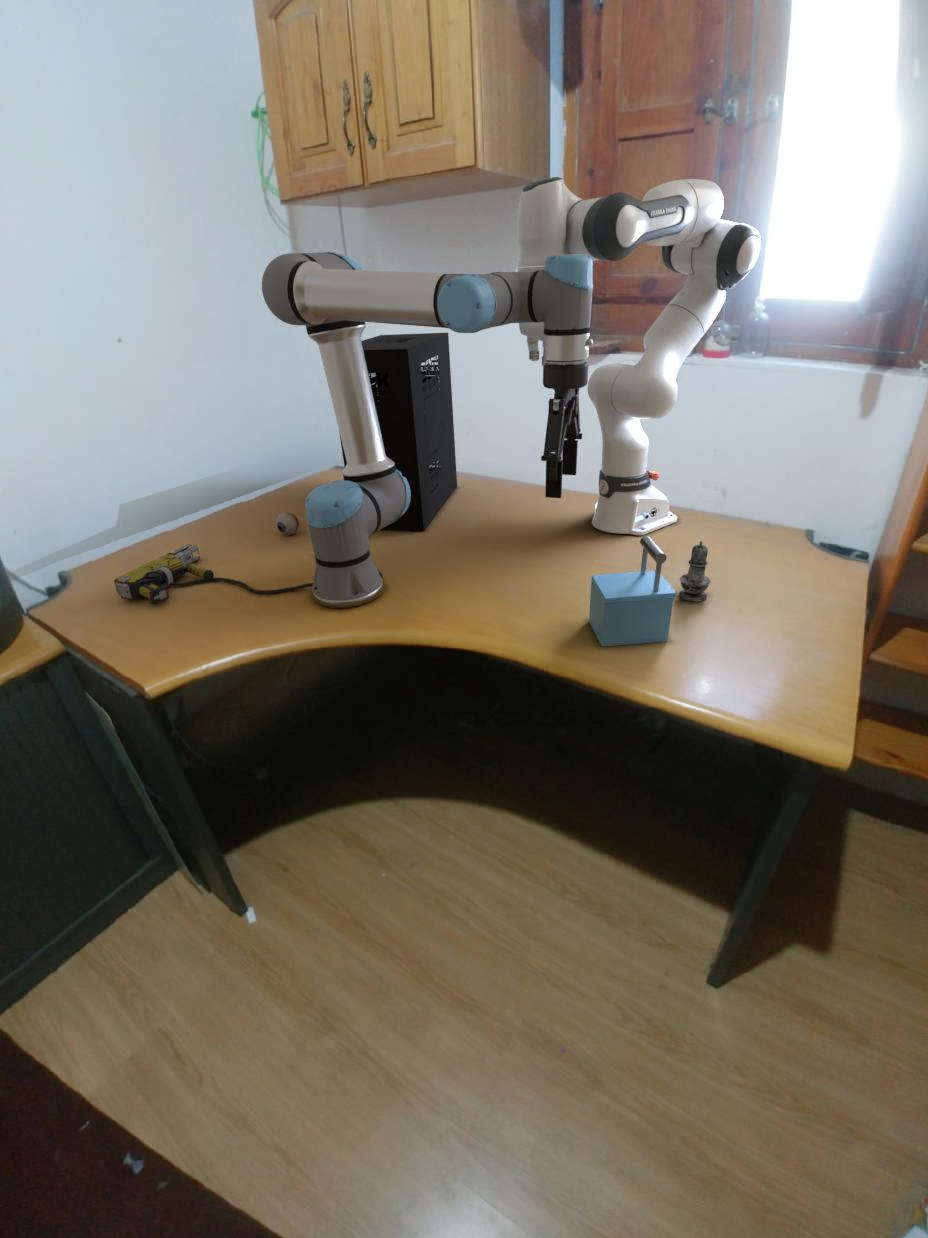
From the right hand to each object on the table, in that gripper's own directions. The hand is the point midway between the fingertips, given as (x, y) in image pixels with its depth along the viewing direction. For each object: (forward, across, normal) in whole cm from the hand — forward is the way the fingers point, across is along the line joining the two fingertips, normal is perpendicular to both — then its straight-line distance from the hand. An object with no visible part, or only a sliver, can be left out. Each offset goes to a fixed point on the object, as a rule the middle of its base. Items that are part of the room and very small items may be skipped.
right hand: (540, 363), depth 120 cm
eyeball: (+43, +35, +60) cm, 82 cm away
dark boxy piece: (+43, +48, +26) cm, 70 cm away
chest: (+43, -34, -8) cm, 56 cm away
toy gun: (+43, +12, +84) cm, 95 cm away
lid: (+34, -34, -8) cm, 49 cm away
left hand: (+19, -20, +2) cm, 28 cm away
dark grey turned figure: (+43, -25, -26) cm, 56 cm away
